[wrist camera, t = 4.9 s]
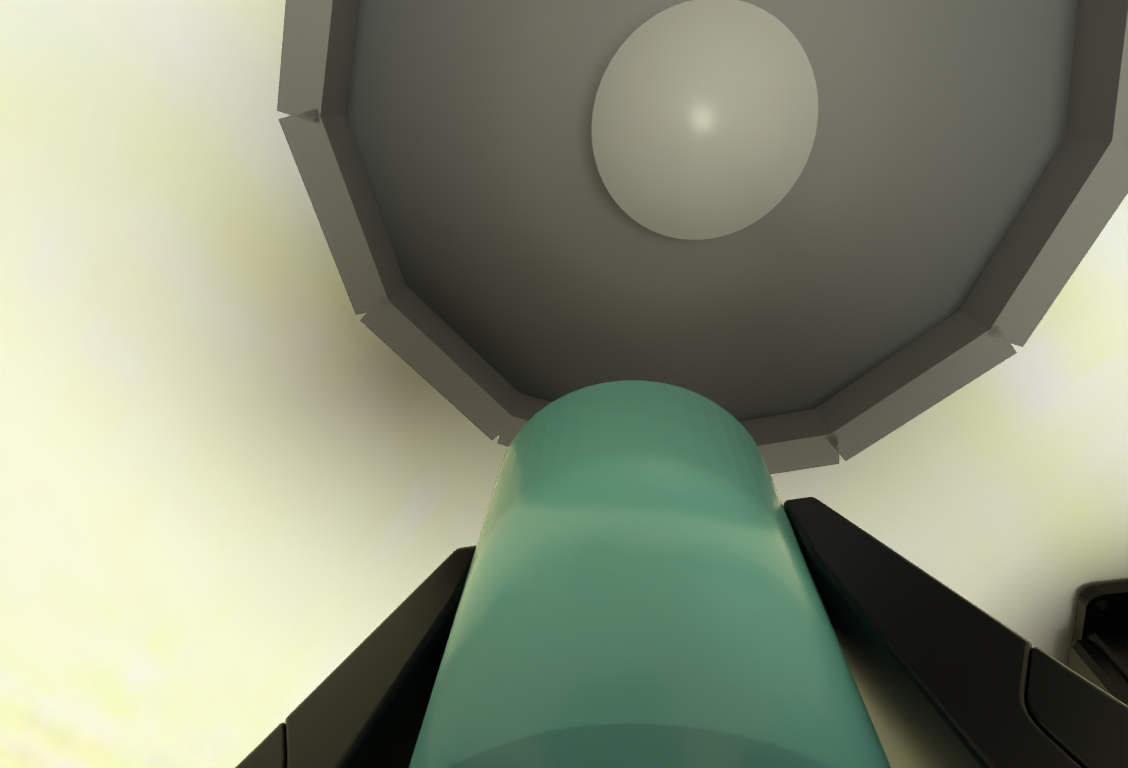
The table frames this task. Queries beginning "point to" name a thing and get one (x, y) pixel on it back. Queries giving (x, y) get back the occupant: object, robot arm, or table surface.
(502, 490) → the bead
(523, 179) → the tray
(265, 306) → the table surface
